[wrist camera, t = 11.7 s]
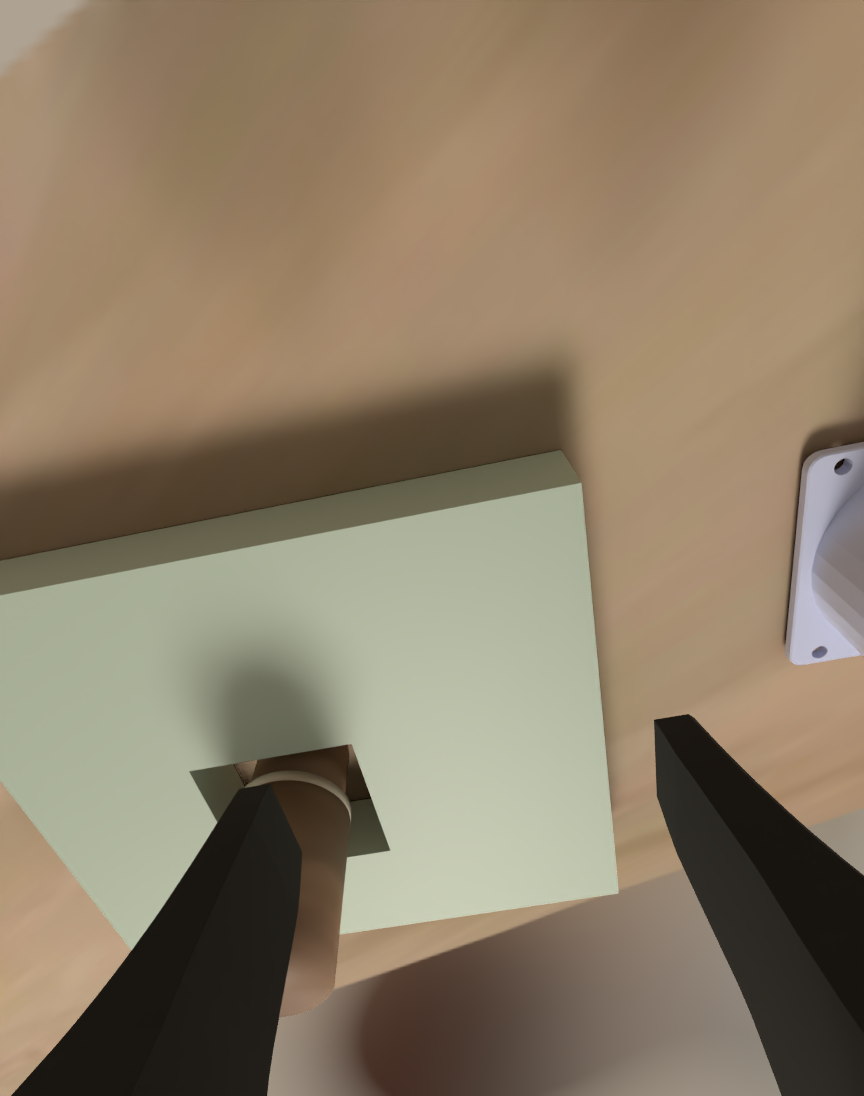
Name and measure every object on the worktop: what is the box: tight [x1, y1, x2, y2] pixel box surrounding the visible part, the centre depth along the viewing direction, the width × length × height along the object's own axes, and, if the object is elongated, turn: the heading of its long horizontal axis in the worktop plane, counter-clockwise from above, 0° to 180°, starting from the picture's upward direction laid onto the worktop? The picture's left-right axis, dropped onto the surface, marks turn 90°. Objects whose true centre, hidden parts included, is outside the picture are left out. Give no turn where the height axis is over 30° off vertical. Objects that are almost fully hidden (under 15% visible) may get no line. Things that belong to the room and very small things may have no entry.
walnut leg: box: [244, 745, 351, 1017], centre depth 21 cm, size 4×4×8 cm
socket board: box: [0, 450, 619, 951], centre depth 22 cm, size 20×18×2 cm
